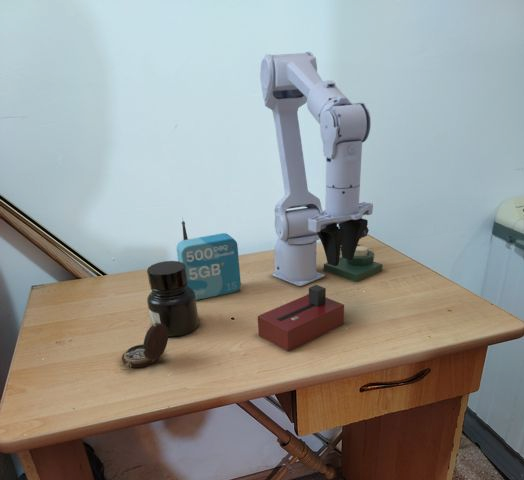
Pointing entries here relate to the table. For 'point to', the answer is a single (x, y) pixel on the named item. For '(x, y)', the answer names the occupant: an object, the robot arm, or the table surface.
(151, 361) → the compass
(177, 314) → the ink bottle
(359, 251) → the button
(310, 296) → the slider knob
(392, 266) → the table surface
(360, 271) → the button block
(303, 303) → the slider base
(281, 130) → the robot arm
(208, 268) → the data package
